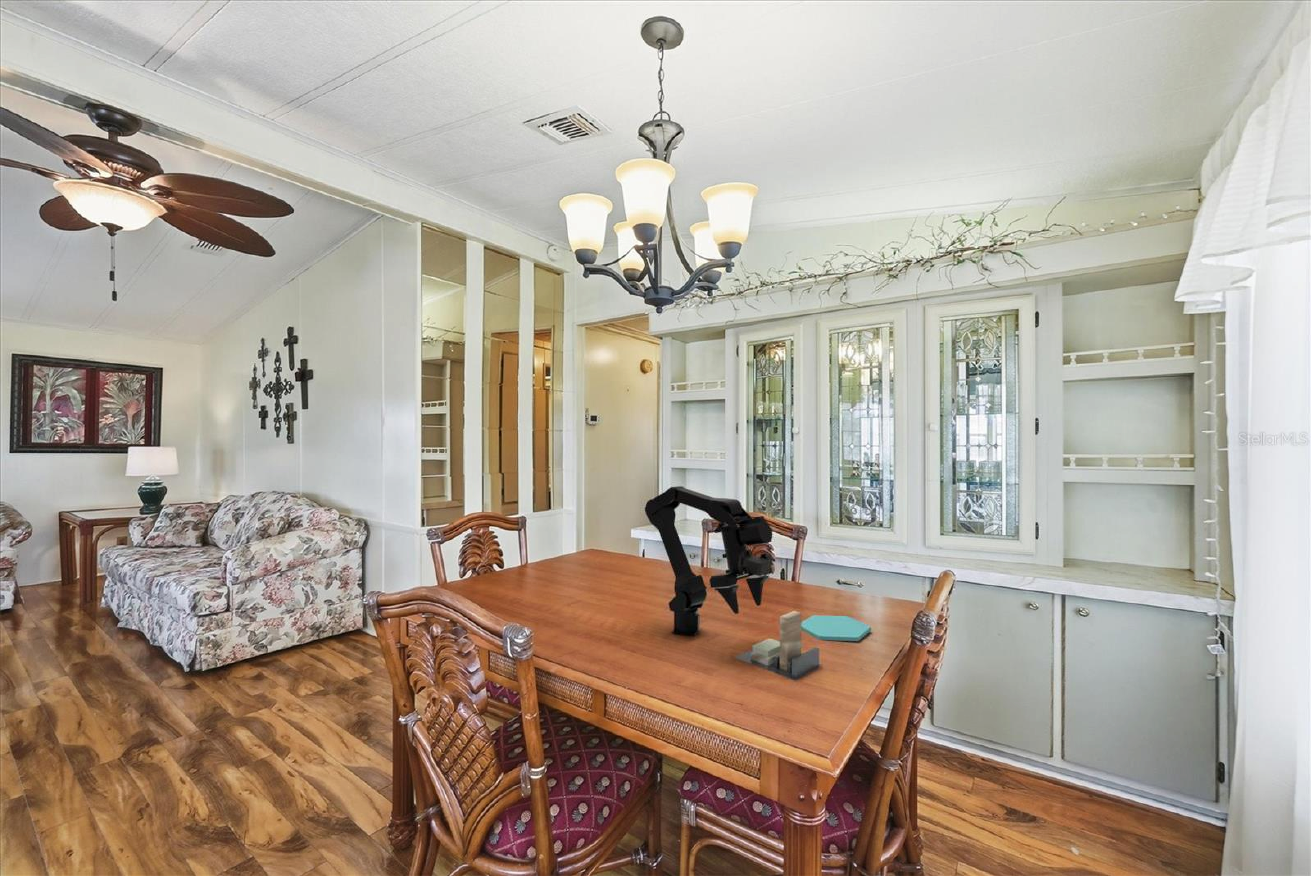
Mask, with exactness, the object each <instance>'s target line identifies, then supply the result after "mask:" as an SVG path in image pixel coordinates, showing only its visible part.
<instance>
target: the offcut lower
mask: <svg viewBox="0 0 1311 876" xmlns="http://www.w3.org/2000/svg"><path fill="white" fill-rule="evenodd" d="M778 654H780V652H778V653H776V654H774V655H772V656H770V657H766V656H763V655H760V654H757V653H755V652H752V653H751V660H754V661H757V662H759V663H762V664H765V665H767V666H769V665H771V664H773V663H774V656H776V655H778Z"/></svg>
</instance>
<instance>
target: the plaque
mask: <svg viewBox="0 0 1311 876" xmlns="http://www.w3.org/2000/svg"><path fill="white" fill-rule="evenodd" d="M801 631H802V632H804V633H807V634H809V635H810V636H812V637H813V638H815V639H817V640H819V641H837V642H839V641H842V642H847V641H848V642H859V641H861V639H862V638H864V637H865V636H866V635H868V633H870V632H871V631H872V626H871V625H868V624H866V623H863V622H861V621H859V620H857V619H855V618H852V617H850V616H848V615H816V614H815V615H811V616H810V617H808V618H806V619H805V620H804V621H801Z"/></svg>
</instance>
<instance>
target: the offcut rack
mask: <svg viewBox="0 0 1311 876" xmlns="http://www.w3.org/2000/svg"><path fill="white" fill-rule="evenodd" d="M752 652H753V648H752V649H750V650H748V651H746V652H744V653H741V654H739V655H736V656H735V657H734V658H735V659H737V660H740V661H742V662H746V663H748V664H751V665H753V666H755V667H757V668H760V669H764V670H766V671H769V672H771V673H773V674H777V675H779V676H781V677H785V678H787V679H790V680H792V681H797V680H800V679H801V678H802V677H805V676H807V675H808V674H810V673H812V672H813V671H815V670H817V669H819V668H820V667H823V665H824V664H821V663H820V648H818V647H814V648H812V649H809V650H807V651H805V652H802V653H801V655H799V656H797V657H795V658H793V659H791V660H789V661H787V671H786V670H784V669H781V668H780V654H778V655H776V656H774V663H773V664H771V665H769V666H767V665H765V664H762V663H759V662H757V661H754V660H751V653H752Z"/></svg>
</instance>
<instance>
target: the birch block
mask: <svg viewBox="0 0 1311 876" xmlns="http://www.w3.org/2000/svg"><path fill="white" fill-rule="evenodd" d="M802 615H803V614H802V612H800V611H796V610H793V611H791V612H788V613H785V614H783V615H780V616H779V642H780V668H781V669H784V670H786V671H787V661H789V660H791V659H793V658H795V657H797V656H799V655H801V654H802V630H801V622H802V619H803V618H802Z"/></svg>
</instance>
